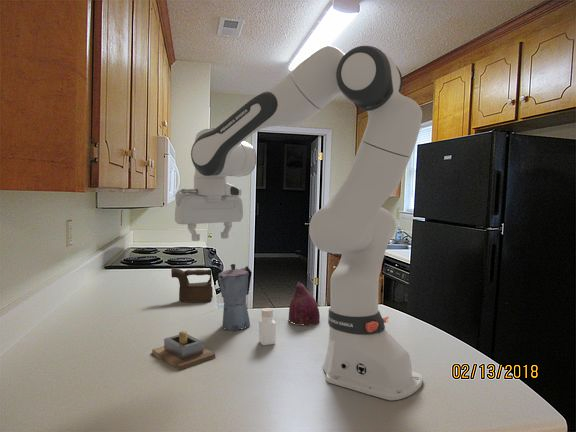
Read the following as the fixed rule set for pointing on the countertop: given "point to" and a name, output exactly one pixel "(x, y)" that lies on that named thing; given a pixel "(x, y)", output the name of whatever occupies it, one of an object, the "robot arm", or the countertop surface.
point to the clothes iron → (193, 286)
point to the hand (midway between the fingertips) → (210, 239)
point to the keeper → (186, 362)
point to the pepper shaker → (267, 327)
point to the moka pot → (235, 297)
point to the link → (183, 347)
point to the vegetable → (303, 307)
